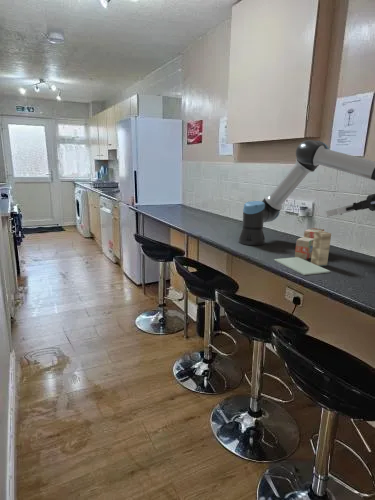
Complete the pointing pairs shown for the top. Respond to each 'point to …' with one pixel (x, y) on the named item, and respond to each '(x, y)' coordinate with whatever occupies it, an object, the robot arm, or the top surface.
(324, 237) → the maple block
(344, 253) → the top surface
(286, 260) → the sage cutting board
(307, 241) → the stack of blocks
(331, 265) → the top surface
